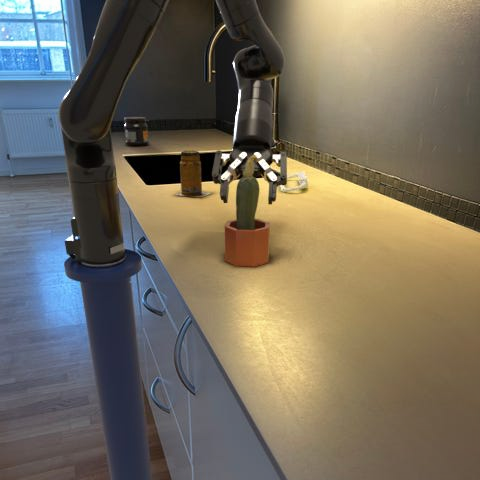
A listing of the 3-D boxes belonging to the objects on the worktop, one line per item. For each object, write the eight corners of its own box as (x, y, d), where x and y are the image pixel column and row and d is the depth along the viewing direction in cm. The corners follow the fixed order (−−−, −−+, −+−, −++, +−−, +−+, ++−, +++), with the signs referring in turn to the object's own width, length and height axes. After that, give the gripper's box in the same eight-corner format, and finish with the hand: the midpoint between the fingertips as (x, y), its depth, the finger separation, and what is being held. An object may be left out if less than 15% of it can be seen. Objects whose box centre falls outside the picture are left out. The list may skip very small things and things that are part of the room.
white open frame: (281, 184, 169) (278, 173, 168) (305, 178, 168) (303, 166, 166) (282, 198, 152) (279, 186, 150) (309, 192, 150) (307, 179, 149)
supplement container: (152, 144, 241) (150, 116, 236) (142, 147, 232) (140, 119, 227) (132, 143, 244) (130, 116, 239) (121, 146, 235) (119, 118, 230)
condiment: (187, 190, 155) (185, 149, 150) (212, 193, 152) (211, 151, 146) (175, 195, 149) (172, 152, 144) (200, 198, 146) (199, 154, 140)
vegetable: (233, 261, 100) (232, 155, 91) (239, 254, 104) (239, 152, 95) (255, 263, 99) (256, 156, 90) (260, 256, 103) (262, 153, 94)
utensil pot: (223, 265, 98) (222, 230, 95) (229, 251, 106) (228, 217, 102) (267, 267, 97) (268, 231, 94) (269, 252, 105) (270, 219, 102)
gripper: (215, 116, 98) (207, 189, 93) (289, 117, 97) (285, 191, 92) (219, 141, 105) (212, 211, 100) (289, 142, 104) (285, 213, 99)
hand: (247, 201), depth 96 cm, fingers open, 8 cm apart
